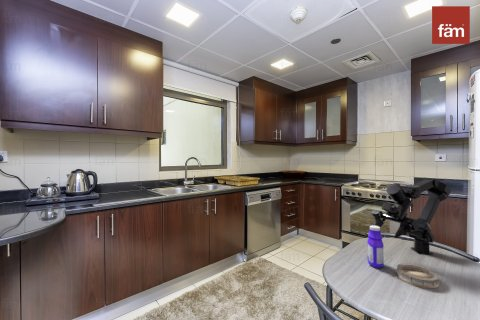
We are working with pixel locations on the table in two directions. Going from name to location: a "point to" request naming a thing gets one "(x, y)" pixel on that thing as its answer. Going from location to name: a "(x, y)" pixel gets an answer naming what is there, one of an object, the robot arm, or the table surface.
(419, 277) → the collar base
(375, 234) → the bottle
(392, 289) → the table surface
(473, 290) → the table surface
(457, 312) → the table surface
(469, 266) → the table surface
